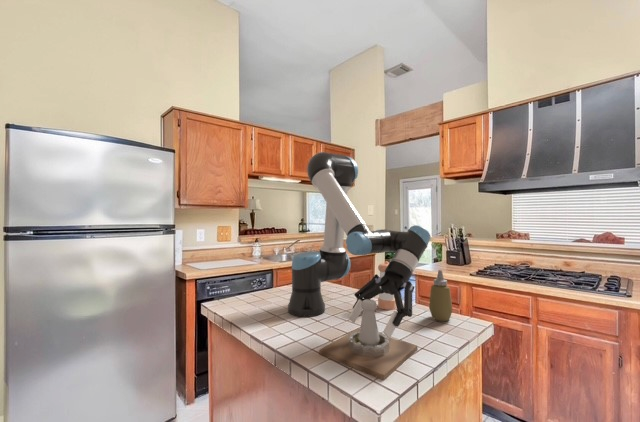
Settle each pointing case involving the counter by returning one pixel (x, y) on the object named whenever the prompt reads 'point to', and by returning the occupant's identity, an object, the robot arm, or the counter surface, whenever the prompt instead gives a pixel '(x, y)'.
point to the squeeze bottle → (440, 299)
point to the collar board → (370, 362)
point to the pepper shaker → (385, 299)
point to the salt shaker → (369, 324)
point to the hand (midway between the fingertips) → (367, 327)
